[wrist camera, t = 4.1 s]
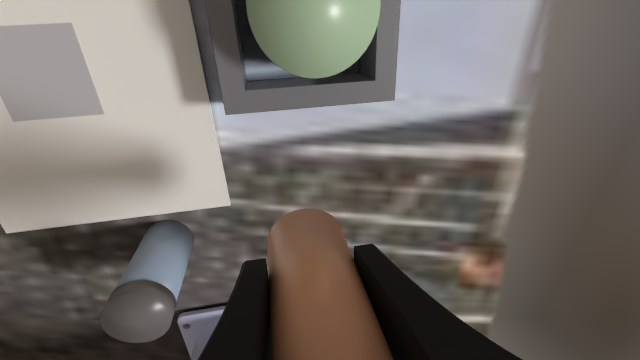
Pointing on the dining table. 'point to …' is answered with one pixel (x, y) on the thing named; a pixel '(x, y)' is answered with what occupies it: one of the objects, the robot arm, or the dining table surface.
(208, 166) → the paper
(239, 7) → the dining table surface
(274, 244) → the marker terracotta
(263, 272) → the robot arm
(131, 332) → the marker slate
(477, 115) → the dining table surface
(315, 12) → the button
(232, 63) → the button housing
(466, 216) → the dining table surface
